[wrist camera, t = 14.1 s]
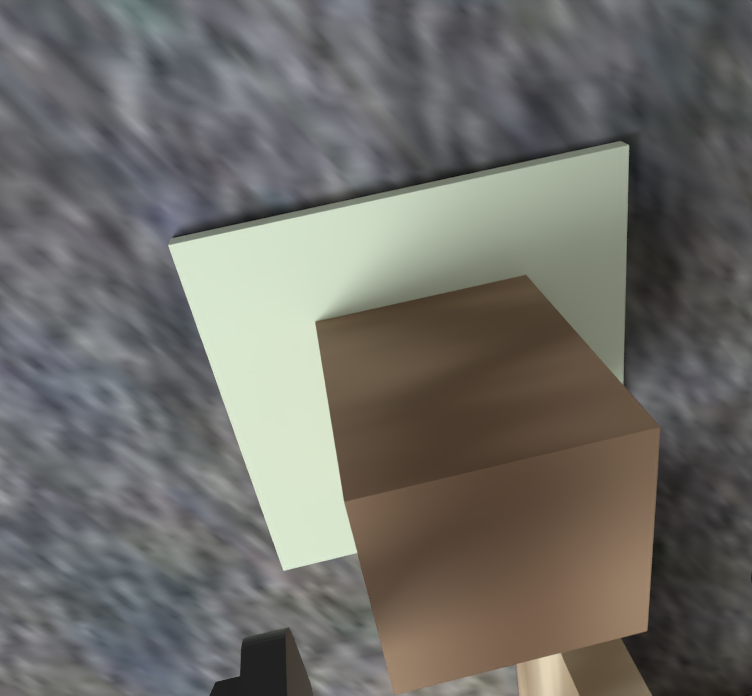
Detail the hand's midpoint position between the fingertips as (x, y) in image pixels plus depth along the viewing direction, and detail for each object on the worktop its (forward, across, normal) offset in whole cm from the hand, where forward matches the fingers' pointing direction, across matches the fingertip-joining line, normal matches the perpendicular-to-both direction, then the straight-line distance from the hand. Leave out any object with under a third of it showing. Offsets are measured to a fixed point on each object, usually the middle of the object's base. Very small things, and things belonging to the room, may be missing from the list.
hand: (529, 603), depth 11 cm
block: (+6, 0, 0) cm, 7 cm away
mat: (+7, 0, 0) cm, 7 cm away
